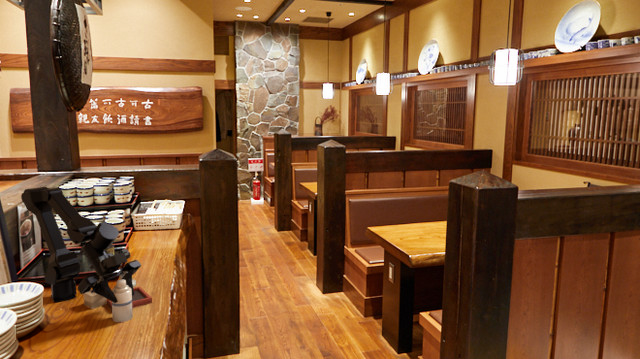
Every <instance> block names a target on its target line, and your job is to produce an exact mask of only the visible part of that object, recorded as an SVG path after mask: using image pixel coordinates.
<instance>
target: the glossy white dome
mask: <svg viewBox="0 0 640 359" xmlns="http://www.w3.org/2000/svg"><path fill="white" fill-rule="evenodd" d="M132 284H133V288H135V287H137V281H136V279H133V278H132Z"/></svg>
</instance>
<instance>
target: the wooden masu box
mask: <svg viewBox="0 0 640 359" xmlns="http://www.w3.org/2000/svg"><path fill="white" fill-rule="evenodd" d="M91 291H92V289H91V290H90V291H89V292H87V293H84V294H82V295H83V305H84V306H86V307H87V308H89V309H92V310H94V309H97V308H99V307H102V306H105V305H108V303H107V298H105V297H103V296H101V295H99V294H96V293H91Z"/></svg>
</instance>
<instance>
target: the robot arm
mask: <svg viewBox="0 0 640 359" xmlns="http://www.w3.org/2000/svg"><path fill="white" fill-rule="evenodd" d="M21 201H22V203H23V205H24V206H25V208H26V210H28V212H30V213H32V214H33V215H35V218H36V220H37V223H38V225H39V229H40V231H41V234H42V236H43V239H44V241H45V243H46V247H47V249H48V253H49V254H50V256H49V259H48V264H47V265H48V271H47V272H46V273H45V274H44V276H43V277H44V282H45V283H46V284H49V285H50V288H51V294H50V298H51V300H52V301H53V302H54V303H58V302H63V301H67V300H72V299H76V298H77V295H76V294H77V290H78V293H79V294H80V295H83V294H84V293H87V292H89V291H90V290H92V291H91V293H96V294H99V295H101V296H103V297H105V298H107V299H108V300H110V301H112V302H114V303H117V299H116V297H115V295H114V293H113V292H112V290H113V289H111V287H110V286H109V280H112V279H114V278H116V277H119V278H120V280H121V279H124V280H126V285H128V286H129V287H130V288H131V289H132V296H133V295H134V289H133V288H134V287H133V284H132V279H133V275H135V274H136V272H138V270H139V269H140V268H141V267H142V264H141V263H140V261H139V260H137V259H133V260H131V261H128V259H130V258H131V253H130V251H129V250H128V248H124V249H121V250H119V251H118V253H117V254H115V253H114V254H112V253H110V254H109V253H108V251H107V250H106V249H107V248H109V247H110V245H111V244H112V243H114V242H115V240H116V239H117V238H118V237H119V233H120V232H119V230H118V228H117V227H115V226H114V225H112V224H111V223H110V224H109V223H107V222H106V221H101V222H99V223H98V224H97V225H96V223H94V222H93V221H92V220H91V219H90V218H87V217H85V216H83V215H81V213H79V212H78V210H77V209H76V208H75V207H74V206H73V204H72V203H71V202H70V201H69V199H67V197H66V196H65V195H64V191H63V190H62V189H61V188H60V187H59V188H58V187H54V188H53V187H52V188H50V187H48V186H38V187H31V188H25V189H24V190H23V193H21ZM53 211H54V212H55V214H56V215H57V216H58V217H59V218H60V219H61V221H62V222H63V223H64V224H65V225H66V226H65V227H66V235H68V237H69V239H70V240H71V242H72V243H73V244H75V245H77V244H83V243H84V245H81V247H80V250H79V255H80V256H82V255H85V256H86V258H87V260H88V261H89V263H90V267H89V269H90V270H91V271H92V270H94V271H95V273H93V274H90V275H87V276H84V277H83V279H81V281H80V283H79V284H78V286H77V283H76V281H75V278H78V277H79V275H80V271H81V263H80V260H79V258H78V255H77V253H76V251H72V250H71V251H70V250H69V249H68V248H67V246H66V244H65V240H64V238H63V235H62V233H61V230H60V228H59V225H58V223H57V220H56V216H55V215H54V212H53ZM123 263H125V264H124V265H123ZM122 265H123V266H122ZM121 267H122V268H121ZM96 273H97V274H96Z"/></svg>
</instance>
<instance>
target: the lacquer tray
mask: <svg viewBox="0 0 640 359" xmlns="http://www.w3.org/2000/svg"><path fill="white" fill-rule="evenodd" d="M133 289H134V295H133V296H132V309H133V308H136V307H141V306H145V305H149V304H152V303H153V297H152V296H151V295H149V293H147V291H145V289H143V287H141V286H135V287H133ZM107 305H108V306H109V307H110V308H111V309H112V301H110V300H108V299H107Z"/></svg>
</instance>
